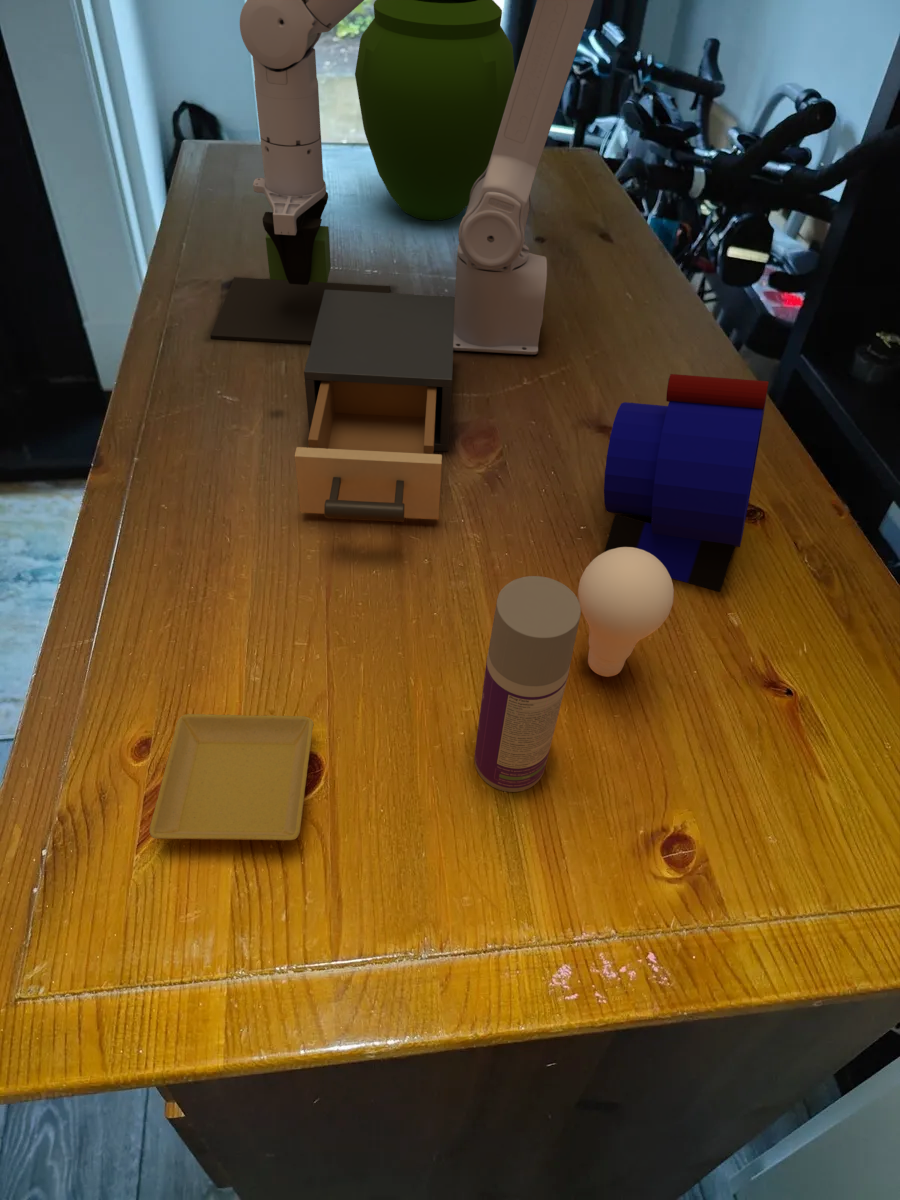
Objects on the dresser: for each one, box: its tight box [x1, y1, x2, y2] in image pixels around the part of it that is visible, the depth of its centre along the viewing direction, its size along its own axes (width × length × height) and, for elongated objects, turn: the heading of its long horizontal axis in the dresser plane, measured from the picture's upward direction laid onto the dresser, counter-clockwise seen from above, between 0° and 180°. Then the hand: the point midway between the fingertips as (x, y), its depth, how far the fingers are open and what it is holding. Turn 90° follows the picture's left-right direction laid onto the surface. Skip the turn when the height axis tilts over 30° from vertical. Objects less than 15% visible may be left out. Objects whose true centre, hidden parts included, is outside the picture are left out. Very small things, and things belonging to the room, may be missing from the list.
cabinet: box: [303, 290, 455, 452], centre depth 79 cm, size 15×13×8 cm
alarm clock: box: [603, 373, 770, 593], centre depth 66 cm, size 12×12×15 cm
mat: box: [209, 276, 391, 345], centre depth 93 cm, size 18×13×1 cm
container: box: [474, 575, 582, 793], centre depth 50 cm, size 5×5×15 cm
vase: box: [354, 0, 516, 221], centre depth 105 cm, size 20×20×24 cm
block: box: [265, 225, 332, 283], centre depth 88 cm, size 6×4×4 cm, turn 89°
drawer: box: [294, 380, 443, 523], centre depth 70 cm, size 18×11×6 cm, turn 179°
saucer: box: [148, 713, 314, 841], centre depth 52 cm, size 9×9×2 cm
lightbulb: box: [577, 547, 675, 678], centre depth 57 cm, size 6×6×11 cm
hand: (301, 273), depth 90 cm, fingers closed on block, 3 cm apart
